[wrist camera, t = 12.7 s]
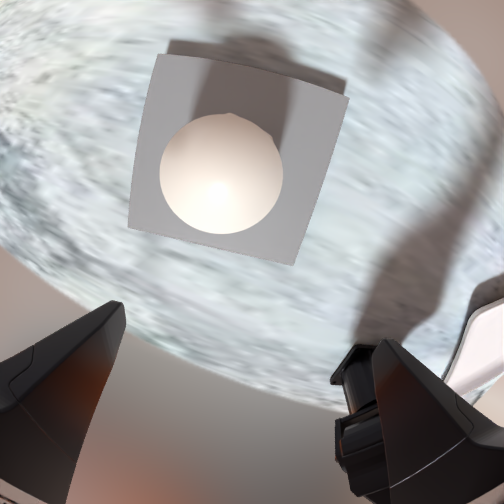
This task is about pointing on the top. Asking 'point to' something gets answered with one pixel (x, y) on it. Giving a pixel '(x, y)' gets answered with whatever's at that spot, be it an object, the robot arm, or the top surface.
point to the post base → (252, 109)
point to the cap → (221, 173)
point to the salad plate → (479, 350)
